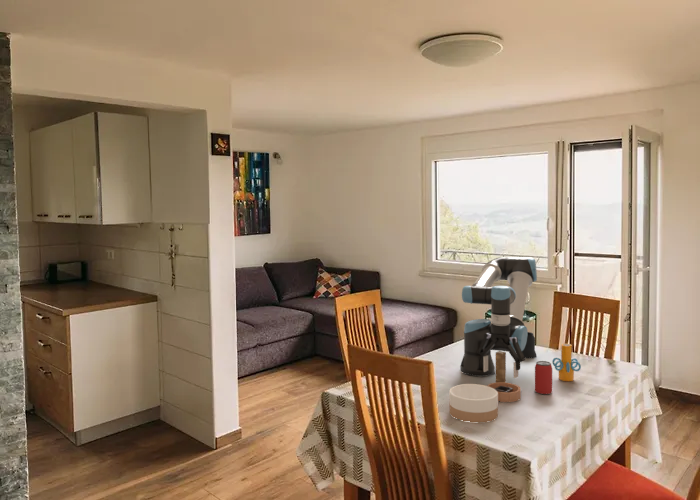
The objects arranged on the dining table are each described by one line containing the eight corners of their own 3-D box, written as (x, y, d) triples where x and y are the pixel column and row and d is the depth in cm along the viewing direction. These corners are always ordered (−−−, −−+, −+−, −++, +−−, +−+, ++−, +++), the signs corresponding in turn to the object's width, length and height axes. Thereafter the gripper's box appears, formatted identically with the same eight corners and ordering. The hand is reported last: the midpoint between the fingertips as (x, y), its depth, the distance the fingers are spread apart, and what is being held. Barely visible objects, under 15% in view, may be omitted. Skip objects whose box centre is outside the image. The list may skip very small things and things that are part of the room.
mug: (536, 359, 266) (536, 336, 265) (516, 357, 270) (516, 334, 269) (537, 352, 277) (537, 330, 276) (518, 351, 281) (518, 329, 280)
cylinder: (582, 384, 229) (582, 349, 227) (555, 383, 231) (556, 348, 230) (576, 375, 241) (576, 341, 239) (551, 374, 243) (551, 340, 242)
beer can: (543, 396, 217) (544, 366, 216) (531, 391, 222) (531, 362, 221) (555, 393, 220) (556, 363, 219) (543, 388, 226) (543, 359, 224)
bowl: (467, 426, 190) (467, 403, 189) (440, 410, 205) (440, 388, 205) (508, 418, 196) (508, 395, 196) (478, 402, 212) (478, 381, 211)
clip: (494, 395, 217) (494, 388, 217) (500, 391, 221) (500, 385, 221) (506, 398, 214) (506, 391, 214) (512, 394, 218) (512, 388, 217)
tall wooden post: (495, 385, 230) (495, 352, 229) (499, 383, 232) (499, 350, 231) (502, 386, 228) (502, 353, 227) (505, 385, 230) (505, 352, 229)
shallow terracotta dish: (481, 397, 217) (481, 388, 217) (496, 388, 226) (496, 380, 226) (511, 404, 209) (511, 395, 208) (526, 395, 218) (526, 386, 218)
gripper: (469, 321, 234) (469, 370, 236) (525, 329, 217) (525, 382, 219) (478, 318, 239) (478, 366, 241) (533, 326, 222) (533, 377, 224)
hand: (500, 374), depth 230 cm, fingers open, 13 cm apart
